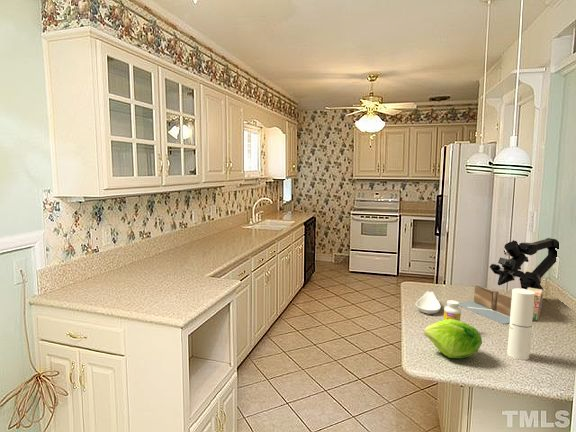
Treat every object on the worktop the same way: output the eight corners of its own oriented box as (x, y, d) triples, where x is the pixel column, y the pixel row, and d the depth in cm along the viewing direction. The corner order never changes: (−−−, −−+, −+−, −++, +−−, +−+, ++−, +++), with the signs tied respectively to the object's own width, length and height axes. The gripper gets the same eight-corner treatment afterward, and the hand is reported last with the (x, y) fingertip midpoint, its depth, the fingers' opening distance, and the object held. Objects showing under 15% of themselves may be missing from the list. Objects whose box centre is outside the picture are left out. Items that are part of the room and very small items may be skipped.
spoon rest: (440, 318, 183) (441, 303, 183) (414, 314, 188) (415, 300, 187) (440, 302, 205) (441, 289, 204) (417, 299, 210) (418, 287, 209)
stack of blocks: (527, 306, 201) (529, 283, 199) (541, 308, 197) (544, 285, 196) (522, 317, 184) (524, 292, 182) (538, 320, 180) (540, 295, 179)
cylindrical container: (520, 361, 141) (526, 295, 138) (502, 353, 148) (507, 289, 145) (533, 357, 144) (539, 293, 141) (515, 349, 150) (520, 287, 148)
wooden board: (475, 301, 205) (476, 285, 204) (493, 308, 195) (494, 291, 194) (473, 301, 205) (474, 286, 204) (490, 308, 194) (492, 292, 193)
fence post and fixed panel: (494, 309, 195) (495, 291, 194) (522, 320, 180) (523, 300, 179) (490, 309, 194) (492, 291, 193) (518, 320, 180) (519, 301, 179)
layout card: (478, 300, 209) (478, 300, 208) (528, 320, 181) (528, 319, 181) (455, 303, 203) (455, 303, 203) (503, 324, 176) (503, 323, 176)
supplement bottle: (443, 332, 167) (444, 303, 165) (442, 326, 173) (444, 298, 171) (460, 334, 164) (461, 305, 163) (459, 328, 170) (460, 300, 169)
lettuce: (420, 343, 155) (428, 310, 156) (474, 360, 148) (482, 325, 149) (420, 350, 141) (428, 313, 142) (480, 369, 134) (488, 330, 135)
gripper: (493, 248, 208) (476, 270, 205) (525, 256, 190) (506, 279, 188) (503, 262, 211) (486, 283, 209) (535, 270, 194) (517, 293, 191)
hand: (498, 284), depth 199 cm, fingers closed
